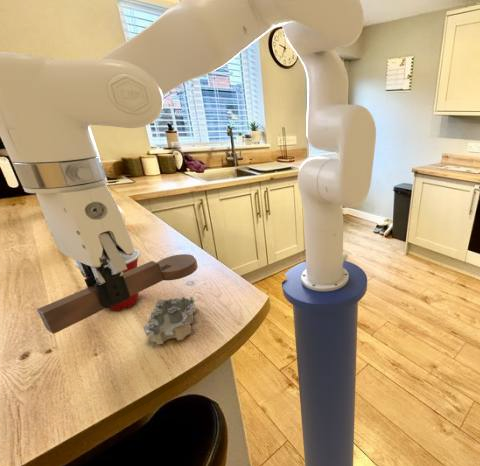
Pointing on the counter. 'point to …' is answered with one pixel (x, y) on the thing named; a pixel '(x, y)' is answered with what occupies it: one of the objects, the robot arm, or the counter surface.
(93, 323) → the counter surface
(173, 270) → the spoon
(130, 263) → the plastic cup
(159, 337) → the crystal geode chunk
